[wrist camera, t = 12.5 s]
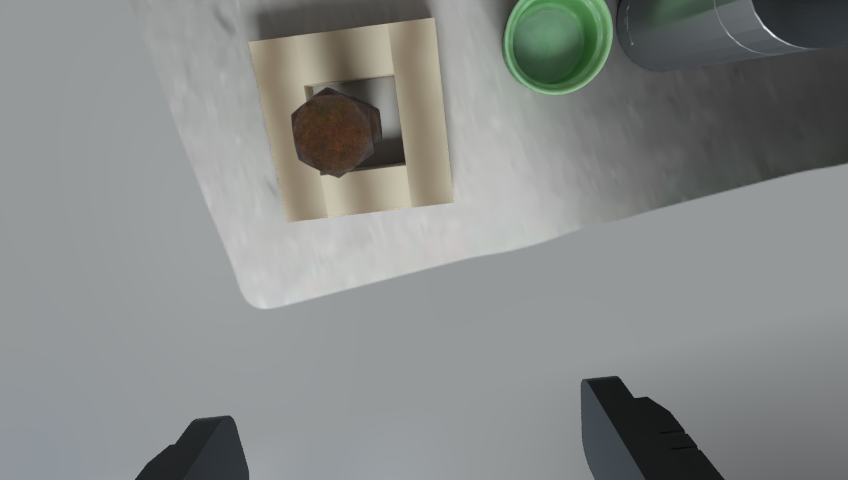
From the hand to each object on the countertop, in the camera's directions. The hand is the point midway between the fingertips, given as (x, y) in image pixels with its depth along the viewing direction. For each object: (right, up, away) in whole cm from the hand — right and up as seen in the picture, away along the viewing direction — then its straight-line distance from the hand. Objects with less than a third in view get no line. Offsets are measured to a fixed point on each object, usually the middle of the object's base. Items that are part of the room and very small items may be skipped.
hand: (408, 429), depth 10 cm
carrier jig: (-6, +15, +33) cm, 37 cm away
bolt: (-6, +16, +33) cm, 37 cm away
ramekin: (+12, +22, +31) cm, 40 cm away
